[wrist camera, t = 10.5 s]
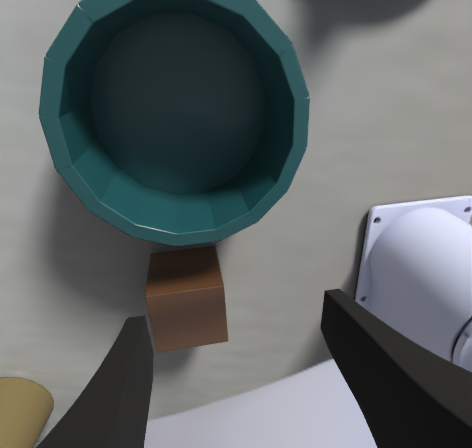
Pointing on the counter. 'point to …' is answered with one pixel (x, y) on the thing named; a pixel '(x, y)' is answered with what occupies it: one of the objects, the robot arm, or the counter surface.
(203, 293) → the block
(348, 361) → the robot arm
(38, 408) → the cork
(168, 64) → the tin
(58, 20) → the counter surface
